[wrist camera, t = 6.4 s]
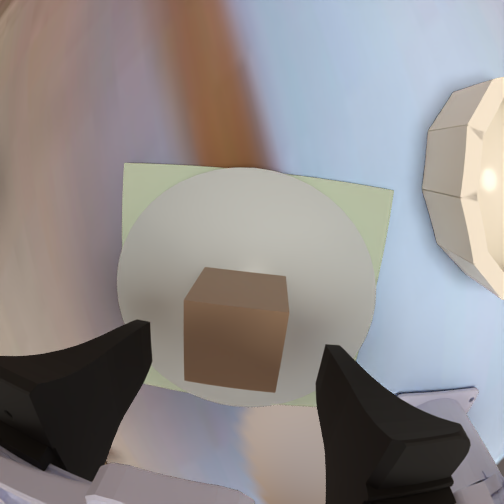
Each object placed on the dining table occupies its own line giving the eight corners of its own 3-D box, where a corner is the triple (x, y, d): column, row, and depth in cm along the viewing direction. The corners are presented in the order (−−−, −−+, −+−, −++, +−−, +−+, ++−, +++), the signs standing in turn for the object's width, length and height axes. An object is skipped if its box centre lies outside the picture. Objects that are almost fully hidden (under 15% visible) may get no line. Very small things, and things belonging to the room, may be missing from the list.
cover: (340, 405, 18) (351, 459, 14) (132, 378, 19) (103, 425, 14) (393, 187, 15) (437, 198, 10) (123, 160, 15) (72, 162, 11)
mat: (338, 402, 19) (339, 407, 18) (135, 376, 19) (132, 380, 19) (390, 189, 15) (393, 190, 15) (128, 163, 16) (124, 163, 15)
